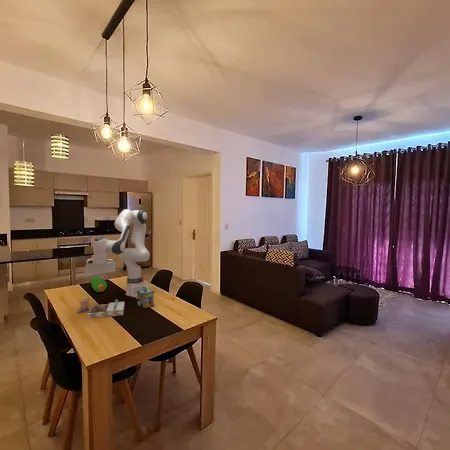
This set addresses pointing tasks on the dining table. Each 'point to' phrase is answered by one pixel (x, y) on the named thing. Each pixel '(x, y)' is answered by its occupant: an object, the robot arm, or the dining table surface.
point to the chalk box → (145, 298)
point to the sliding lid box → (102, 311)
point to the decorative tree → (98, 284)
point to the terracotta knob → (84, 304)
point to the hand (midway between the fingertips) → (100, 278)
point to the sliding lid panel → (115, 306)
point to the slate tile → (83, 311)
